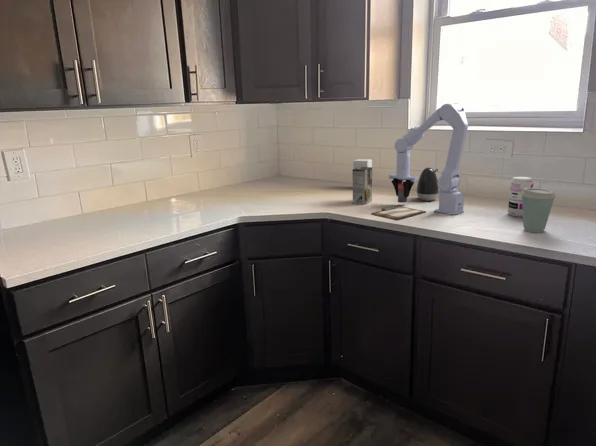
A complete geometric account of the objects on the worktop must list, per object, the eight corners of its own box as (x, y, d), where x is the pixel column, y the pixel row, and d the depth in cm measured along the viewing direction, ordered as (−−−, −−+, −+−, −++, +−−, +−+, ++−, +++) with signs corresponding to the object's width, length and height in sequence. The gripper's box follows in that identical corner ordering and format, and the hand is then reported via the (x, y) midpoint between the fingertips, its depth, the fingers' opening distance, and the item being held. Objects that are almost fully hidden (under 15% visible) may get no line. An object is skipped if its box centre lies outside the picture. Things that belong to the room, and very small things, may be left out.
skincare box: (372, 188, 252) (372, 159, 248) (367, 190, 247) (367, 160, 243) (358, 187, 256) (358, 158, 252) (353, 189, 251) (353, 160, 247)
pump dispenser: (443, 200, 218) (445, 168, 214) (424, 202, 214) (426, 169, 210) (429, 196, 227) (431, 165, 223) (411, 198, 223) (412, 167, 220)
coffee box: (359, 199, 225) (360, 166, 221) (372, 200, 222) (372, 166, 218) (351, 203, 218) (351, 169, 213) (364, 204, 214) (365, 169, 210)
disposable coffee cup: (541, 226, 172) (545, 185, 168) (557, 234, 162) (562, 191, 158) (512, 227, 172) (516, 186, 168) (527, 235, 162) (531, 192, 158)
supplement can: (531, 213, 190) (534, 176, 187) (528, 218, 184) (532, 180, 180) (509, 211, 194) (512, 175, 191) (506, 216, 188) (509, 178, 184)
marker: (409, 201, 211) (409, 183, 209) (402, 202, 208) (403, 185, 206) (401, 200, 214) (402, 182, 212) (395, 201, 211) (395, 184, 209)
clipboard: (425, 212, 197) (426, 208, 196) (397, 220, 186) (397, 216, 186) (399, 207, 208) (399, 203, 207) (371, 214, 197) (371, 210, 196)
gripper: (422, 166, 204) (421, 197, 207) (396, 163, 215) (395, 192, 218) (411, 168, 199) (411, 199, 203) (385, 165, 211) (385, 195, 214)
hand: (402, 196), depth 210 cm, fingers closed on marker, 4 cm apart
